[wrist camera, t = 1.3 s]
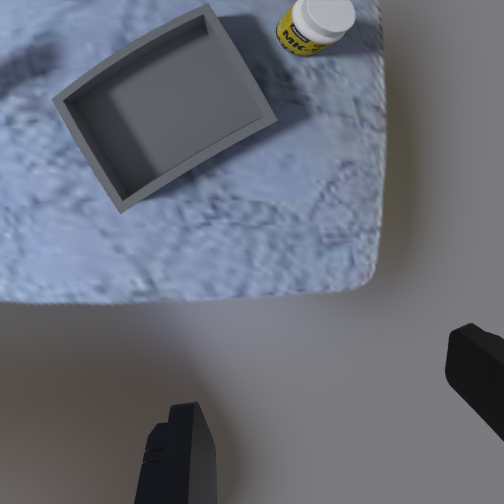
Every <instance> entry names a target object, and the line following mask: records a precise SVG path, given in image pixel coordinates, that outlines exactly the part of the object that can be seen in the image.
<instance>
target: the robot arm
mask: <svg viewBox="0 0 504 504" xmlns="http://www.w3.org/2000/svg"><path fill="white" fill-rule="evenodd" d="M445 375H446V379H447V381H448V383H449V385H450V386H451V387H452V388H453V389H454V390H455V391H456V392H457V393H458V394H459V395H460V396H461V397H462V398H463V399H464V400H465V401H466V402H467V403H468V404H469V405H470V406H471V407H472V408H473V409H474V410H475V411H476V412H477V414H478V415H479V416H480V417H481V418H482V419H483V420H484V421H485V422H486V423H487V424H488V425H489V426H490V427H491V428H492V429H493V430H494V432H495V433H496V434H497V435H498V436H499V437H500V438H501V439H502V440H503V441H504V339H503V338H501V337H500V336H498V335H495V334H492V333H489V332H485V331H484V330H482V329H481V328H479V327H477V326H476V325H474V324H473V323H469V324H467V325H464V326H462V327H460V328H457V329H455V330H453V331H452V332H451V333H450V335H449V342H448V351H447V359H446V366H445ZM145 451H146V453H144V457H143V464H142V467H141V471H140V476H139V481H138V486H137V492H136V497H135V502H134V504H217V480H216V479H217V478H216V450H215V445H214V441H213V438H212V435H211V432H210V430H209V427H208V425H207V423H206V420H205V418H204V415H203V413H202V410H201V408H200V405H199V404H198V403H197V402H191V403H183V404H176V405H172V406H171V408H170V413H169V419H168V423H158V424H157V425H156V426H155V428H154V429H153V430H152V432H151V433H150V434H149V436H148V439H147V444H146V448H145Z"/></svg>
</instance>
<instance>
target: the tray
mask: <svg viewBox="0 0 504 504" xmlns="http://www.w3.org/2000/svg"><path fill="white" fill-rule="evenodd" d="M52 100H53V102H54V104H55V106H56V108H57V110H58V111H59V113H60V115H61V117H62V119H63V121H64V122H65V124H66V126H67V128H68V130H69V131H70V133H71V135H72V137H73V138H74V140H75V142H76V143H77V145H78V147H79V149H80V150H81V152H82V154H83V155H84V157H85V159H86V160H87V162H88V164H89V165H90V167H91V169H92V170H93V172H94V174H95V175H96V177H97V178H98V180H99V182H100V183H101V185H102V186H103V188H104V190H105V191H106V193H107V194H108V196H109V197H110V199H111V201H112V202H113V204H114V205H115V207H116V208H117V210H118V211H119V213H120V214H122V213H123V212H125V211H126V210H128V209H129V208H130V207H132V206H133V205H135V204H136V203H138V202H139V201H141V200H142V199H144V198H146V197H147V196H149V195H150V194H152V193H153V192H155V191H156V190H158V189H159V188H161V187H163V186H164V185H166V184H167V183H169V182H171V181H172V180H174V179H175V178H177V177H179V176H180V175H182V174H184V173H185V172H187V171H189V170H190V169H192V168H193V167H195V166H197V165H199V164H200V163H202V162H204V161H205V160H207V159H209V158H210V157H212V156H214V155H216V154H217V153H219V152H221V151H223V150H224V149H226V148H228V147H230V146H232V145H233V144H235V143H237V142H239V141H241V140H243V139H244V138H246V137H248V136H250V135H252V134H254V133H256V132H257V131H259V130H261V129H263V128H265V127H267V126H269V125H271V124H273V123H275V122H277V121H278V120H277V118H276V116H275V114H274V113H273V111H272V109H271V107H270V105H269V103H268V102H267V100H266V98H265V96H264V94H263V93H262V91H261V89H260V87H259V86H258V84H257V82H256V80H255V79H254V77H253V75H252V73H251V72H250V70H249V68H248V67H247V65H246V63H245V62H244V60H243V58H242V56H241V55H240V53H239V52H238V50H237V48H236V47H235V45H234V43H233V42H232V40H231V38H230V37H229V35H228V34H227V32H226V30H225V29H224V27H223V26H222V24H221V23H220V21H219V19H218V18H217V16H216V15H215V13H214V12H213V10H212V9H211V7H210V6H209V4H208V3H207V4H205V5H203V6H201V7H198V8H196V9H194V10H192V11H190V12H188V13H185V14H183V15H181V16H179V17H177V18H175V19H173V20H171V21H169V22H167V23H166V24H164V25H162V26H160V27H158V28H156V29H154V30H153V31H151V32H149V33H147V34H145V35H144V36H142V37H140V38H139V39H137V40H135V41H134V42H132V43H130V44H129V45H127V46H125V47H124V48H122V49H121V50H119V51H117V52H116V53H114V54H113V55H111V56H110V57H108V58H107V59H105V60H104V61H102V62H101V63H99V64H98V65H96V66H95V67H94V68H92V69H91V70H89V71H88V72H87V73H85V74H84V75H82V76H81V77H80V78H78V79H77V80H76V81H74V82H73V83H72V84H70V85H69V86H68V87H67V88H65V89H64V90H63V91H62V92H60V93H59V94H58V95H57V96H55V97H54V98H53V99H52Z"/></svg>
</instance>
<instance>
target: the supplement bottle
mask: <svg viewBox="0 0 504 504" xmlns="http://www.w3.org/2000/svg"><path fill="white" fill-rule="evenodd" d="M355 16H356V15H355V9H354V7H353V5H352V3H351V2H350V0H298V1H297V2H296V3H295V4H294V5H293V6H292V7H291V8H290V9H289V10H288V12H287V13H286V14H285V15H284V16H283V17H282V19H281V20H280V21H279V22H278V24H277V26H276V29H275V37H276V40H277V42H278V44H279V46H280V47H281V48H282V49H283V50H284V51H286V52H287V53H289V54H291V55H294V56H298V57H306V56H310V55H313V54H315V53H316V52H318V51H320V50H322V49H324V48H325V47H327V46H329V45H331V44H333V43H335V42H336V41H338V40H339V39H341V38H342V37H343V36H344V34H345V33H346V31H347V30H348V29H350V28H351V27H352V26H353V24H354V22H355Z"/></svg>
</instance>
